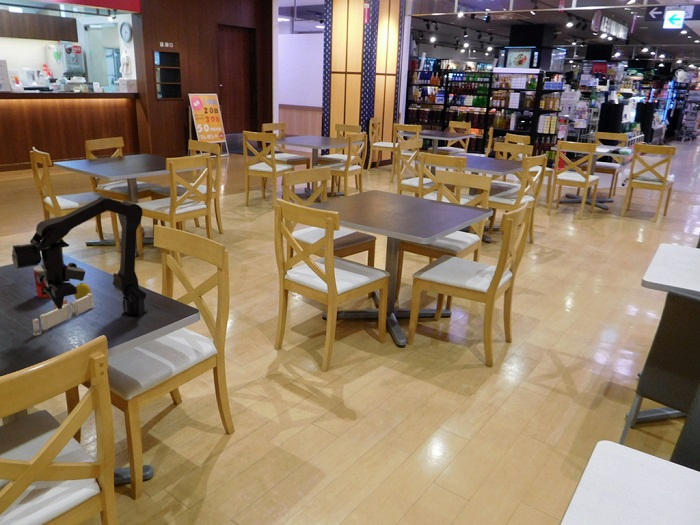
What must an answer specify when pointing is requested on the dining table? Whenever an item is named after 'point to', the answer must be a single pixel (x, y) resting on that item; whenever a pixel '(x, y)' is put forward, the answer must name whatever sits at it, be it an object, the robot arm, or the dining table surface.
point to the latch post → (36, 327)
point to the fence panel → (84, 303)
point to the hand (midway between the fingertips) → (59, 308)
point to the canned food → (40, 284)
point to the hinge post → (72, 309)
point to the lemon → (82, 290)
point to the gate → (55, 316)
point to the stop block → (63, 303)
